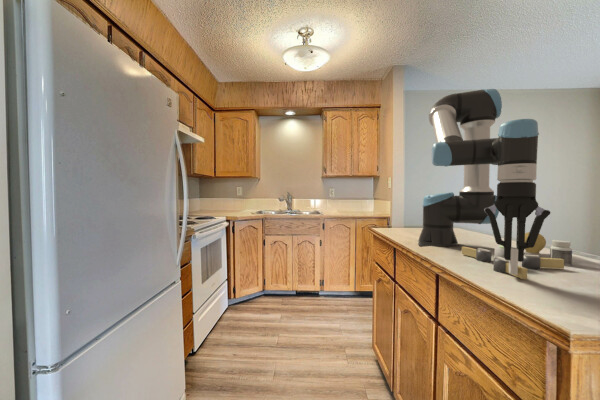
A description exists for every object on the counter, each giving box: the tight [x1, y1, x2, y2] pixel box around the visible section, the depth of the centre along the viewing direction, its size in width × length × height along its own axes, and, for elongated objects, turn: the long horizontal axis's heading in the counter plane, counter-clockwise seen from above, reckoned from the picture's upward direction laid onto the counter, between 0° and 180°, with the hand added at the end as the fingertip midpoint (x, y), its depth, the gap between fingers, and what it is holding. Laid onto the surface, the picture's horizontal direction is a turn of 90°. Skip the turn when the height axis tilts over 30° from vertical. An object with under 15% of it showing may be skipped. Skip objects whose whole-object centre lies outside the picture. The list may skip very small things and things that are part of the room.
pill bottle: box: [549, 239, 573, 267], centre depth 76 cm, size 5×5×8 cm
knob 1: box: [461, 246, 493, 263], centre depth 83 cm, size 10×4×4 cm, turn 15°
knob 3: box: [521, 254, 565, 271], centre depth 72 cm, size 10×4×4 cm, turn 75°
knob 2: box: [493, 257, 529, 280], centre depth 67 cm, size 10×4×4 cm, turn 176°
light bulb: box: [524, 231, 547, 258], centre depth 83 cm, size 6×6×10 cm
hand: (512, 273), depth 64 cm, fingers closed
